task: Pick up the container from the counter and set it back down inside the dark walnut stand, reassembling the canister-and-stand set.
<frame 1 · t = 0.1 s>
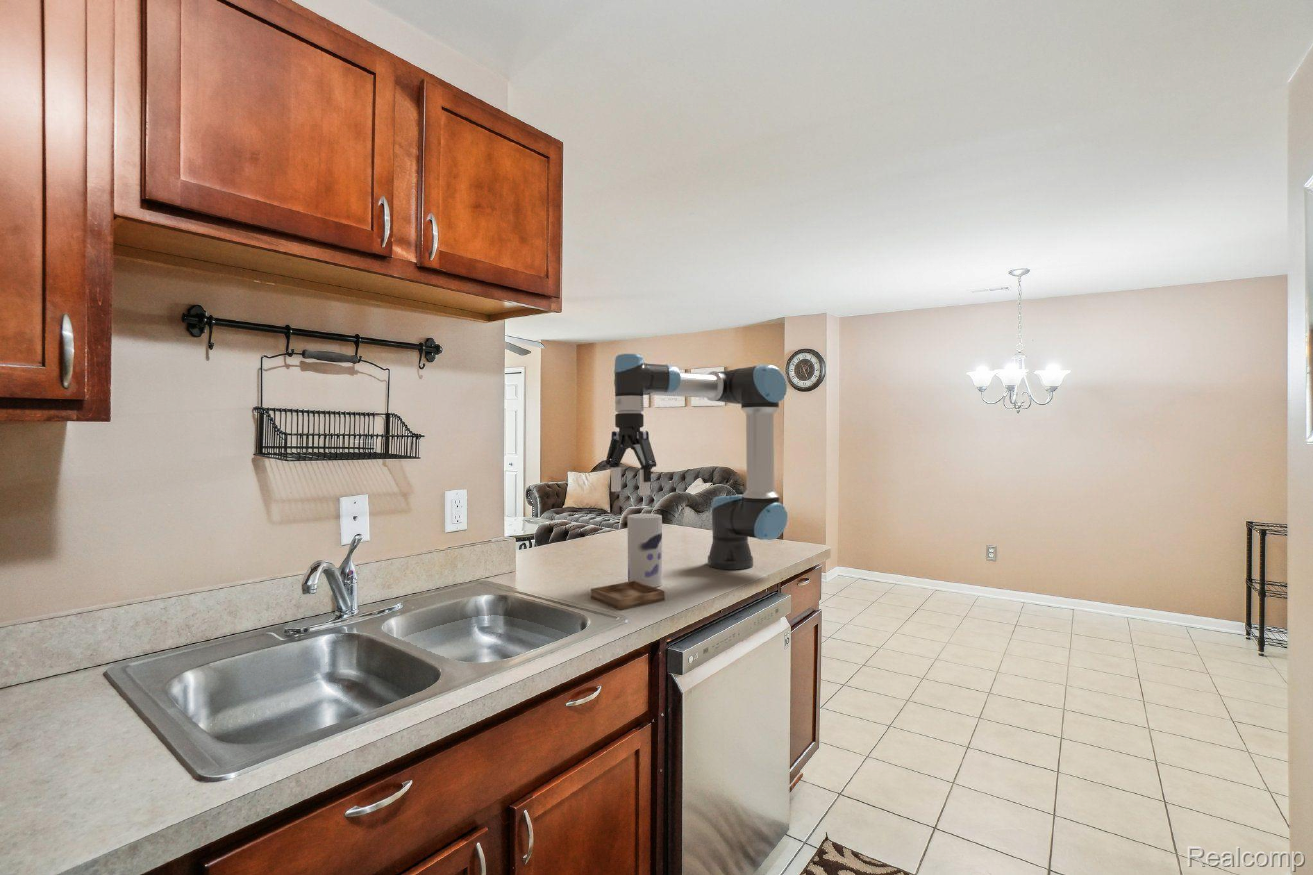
hand: (630, 493, 158), 28 cm above the countertop, fingers open, 13 cm apart
stand: (627, 599, 158), on the countertop
container: (645, 584, 173), on the countertop
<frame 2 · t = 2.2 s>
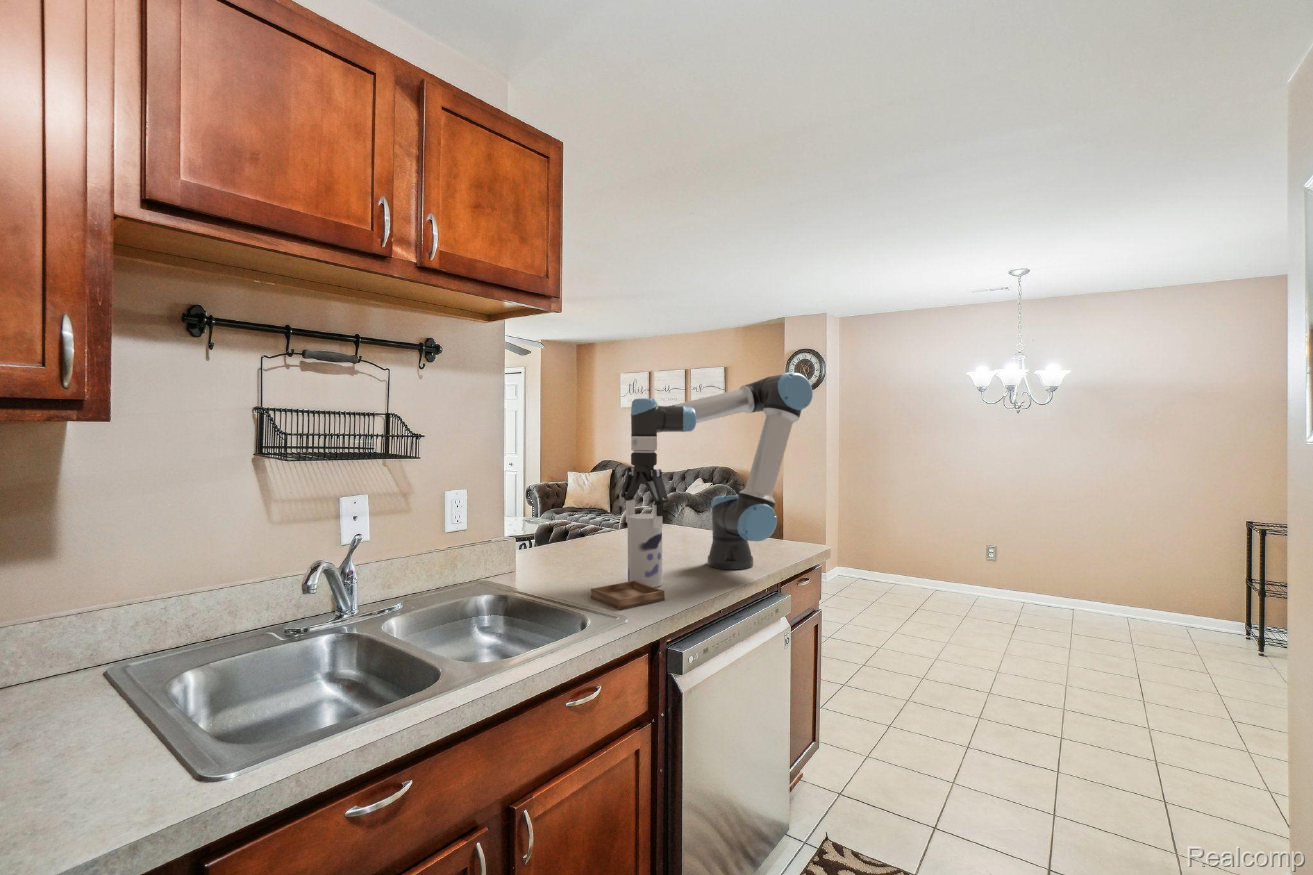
hand: (643, 525, 173), 17 cm above the countertop, fingers open, 13 cm apart
nothing on the countertop moved.
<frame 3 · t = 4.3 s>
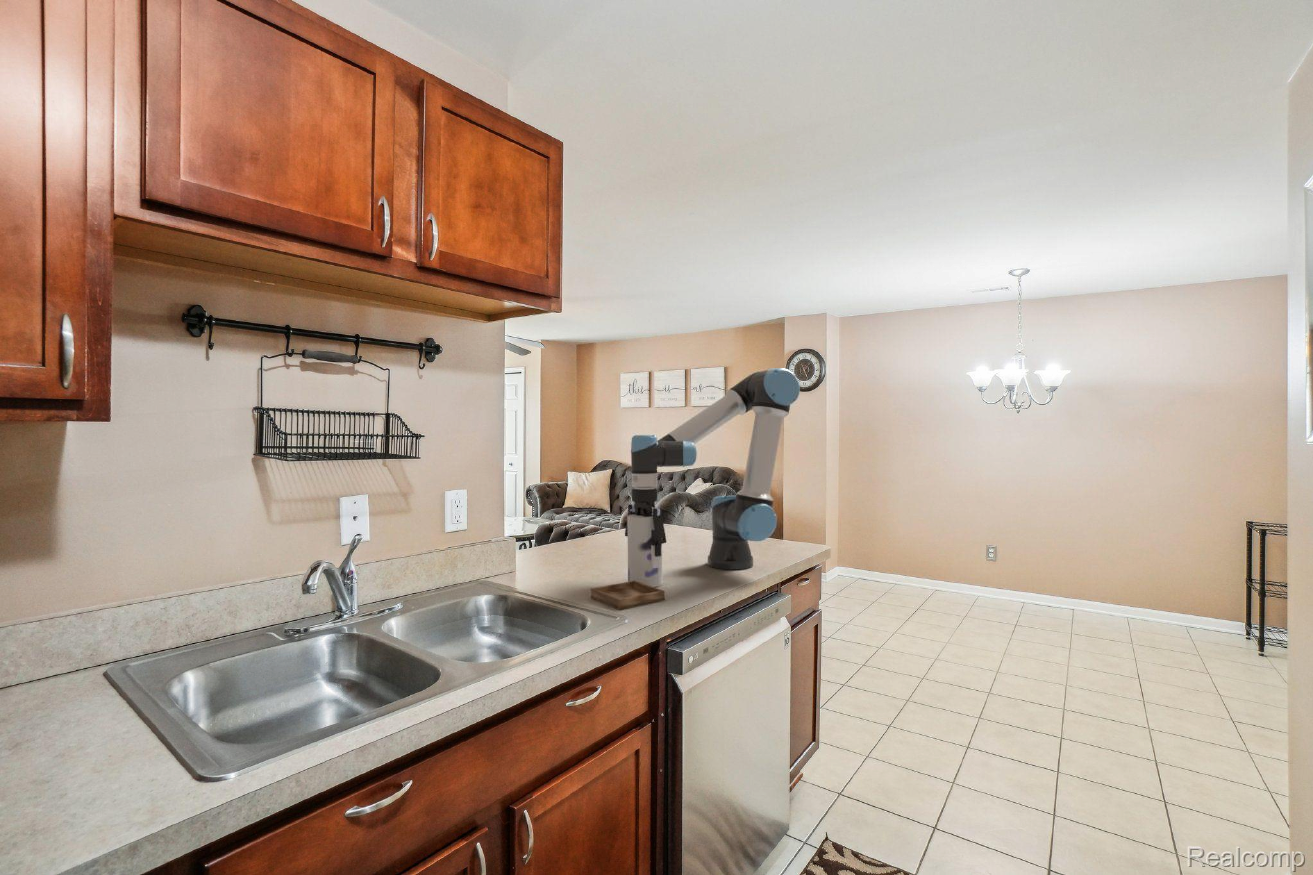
hand: (645, 564, 173), 6 cm above the countertop, fingers closed on container, 10 cm apart
container: (645, 584, 173), on the countertop, touching gripper
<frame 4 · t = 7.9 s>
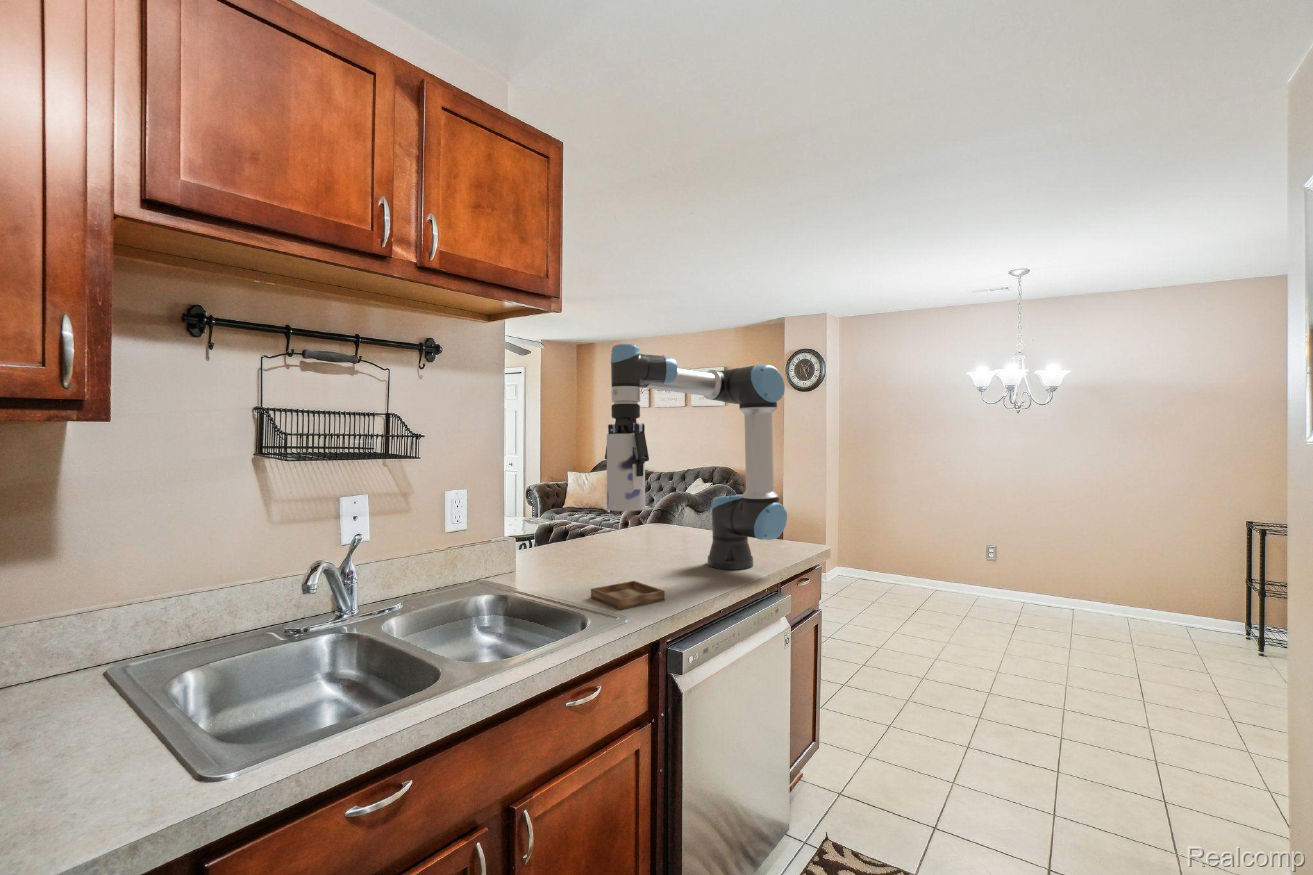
hand: (626, 487, 157), 29 cm above the countertop, fingers closed on container, 10 cm apart
container: (626, 510, 157), point 24 cm above the countertop, touching gripper
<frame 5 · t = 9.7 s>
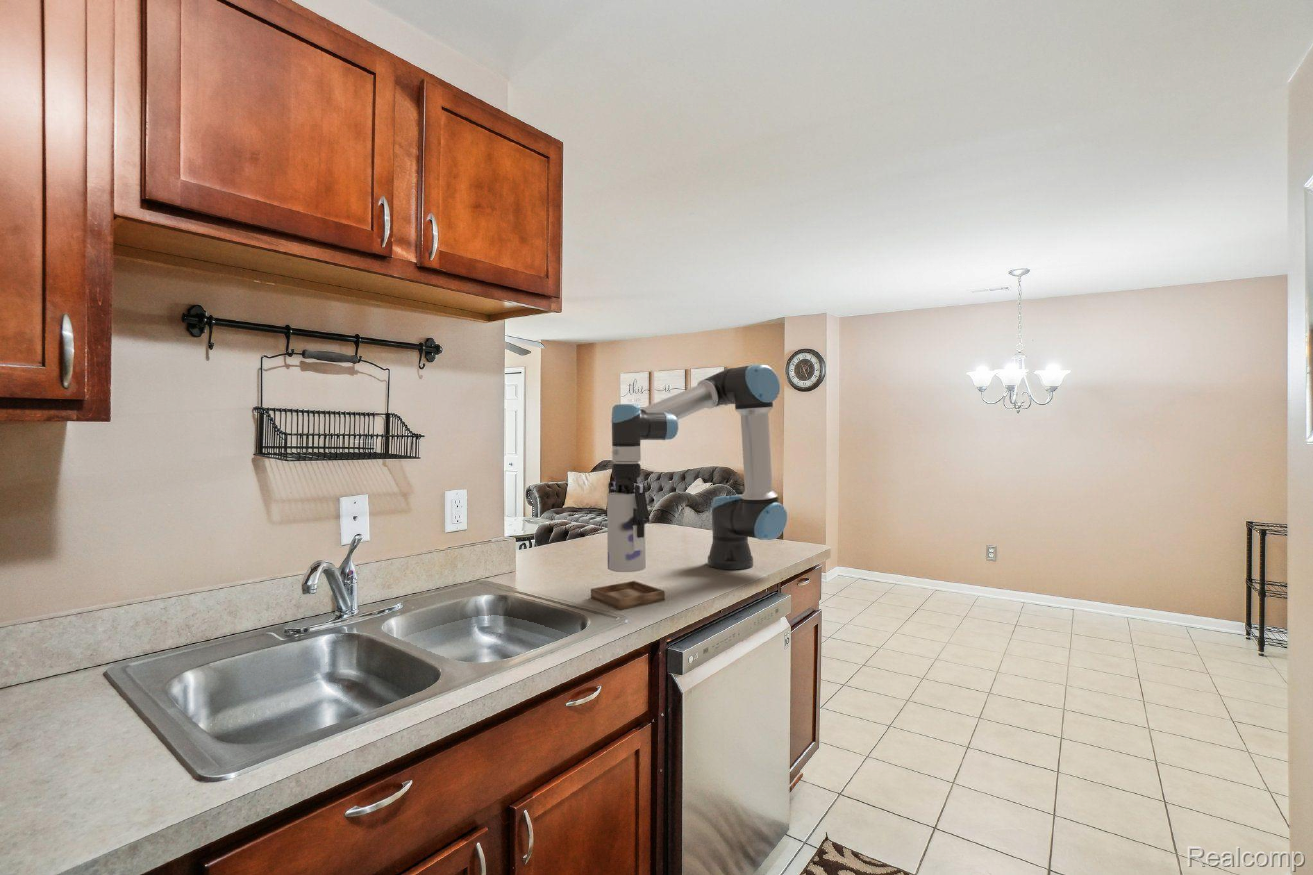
hand: (626, 547, 157), 14 cm above the countertop, fingers closed on container, 10 cm apart
container: (626, 569, 157), point 8 cm above the countertop, touching gripper
when the fingers open (8 cm above the countertop, at t = 11.6 s): container drops 1 cm, resting on stand.
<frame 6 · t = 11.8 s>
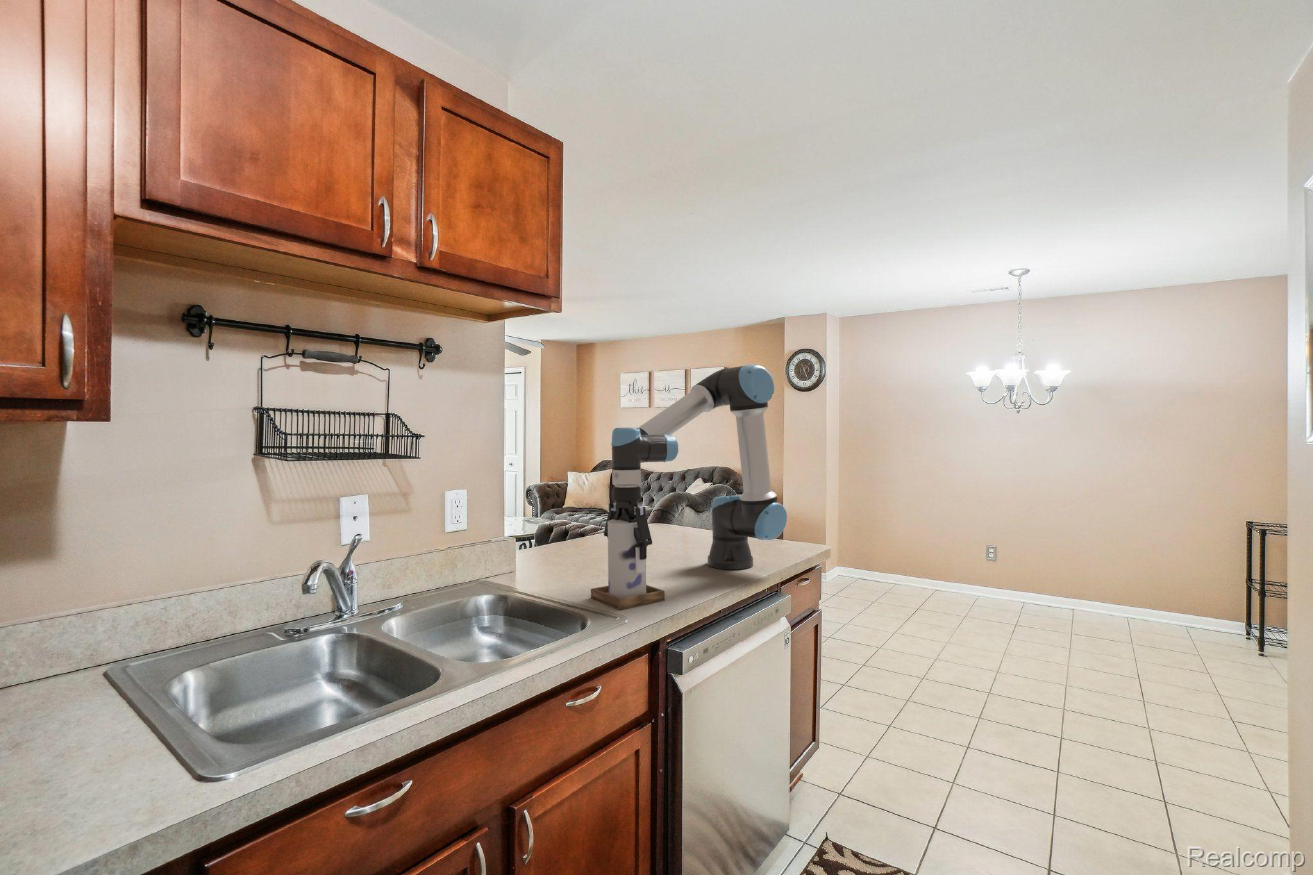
hand: (627, 567, 157), 8 cm above the countertop, fingers open, 12 cm apart
container: (627, 596, 158), point 1 cm above the countertop, touching stand
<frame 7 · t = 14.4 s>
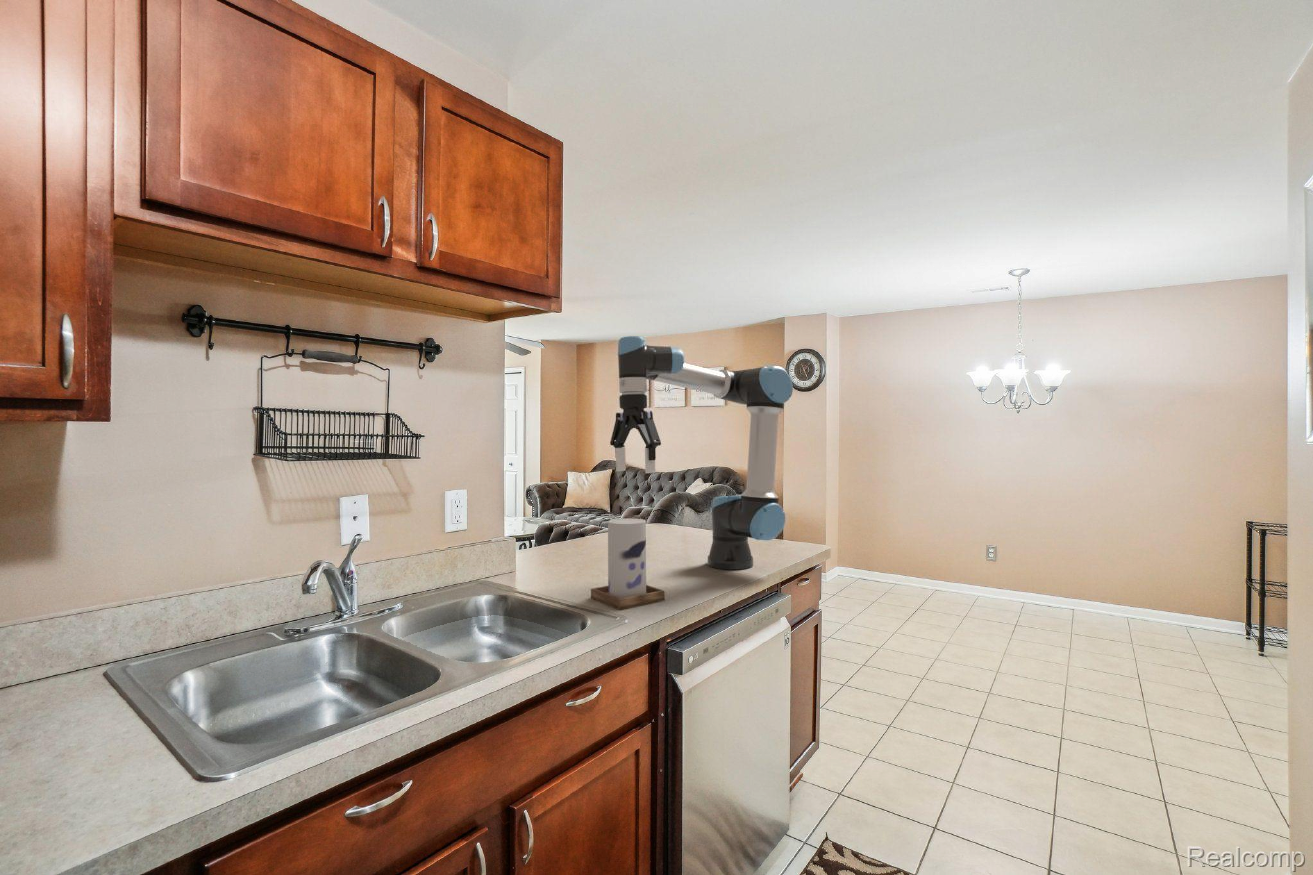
hand: (635, 472, 163), 33 cm above the countertop, fingers open, 13 cm apart
nothing on the countertop moved.
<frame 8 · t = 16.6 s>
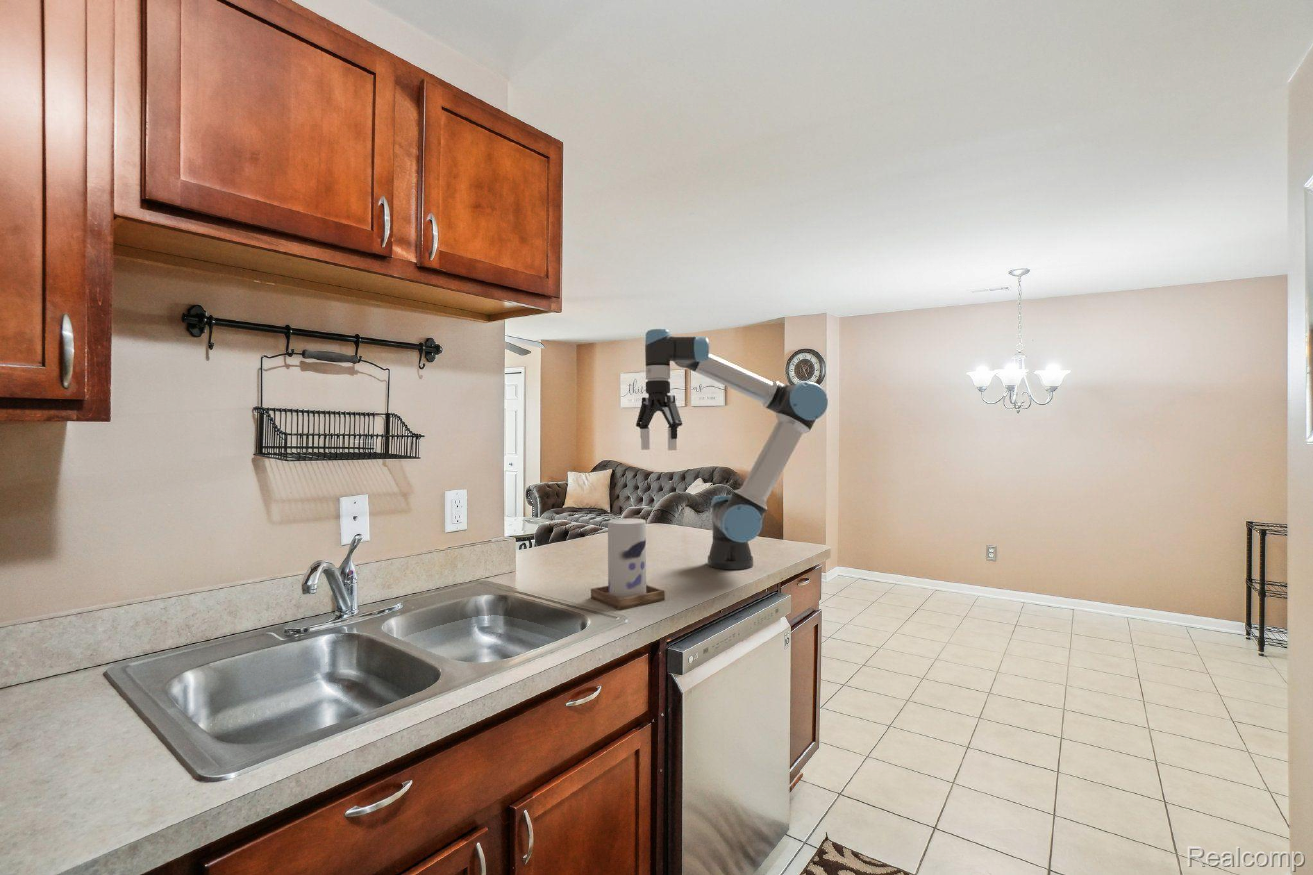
hand: (658, 450, 183), 39 cm above the countertop, fingers open, 13 cm apart
nothing on the countertop moved.
at the end: container 0.0 cm off-centre on the stand, point 0.6 cm above the stand's base; container tilted 0°; container touching stand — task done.
